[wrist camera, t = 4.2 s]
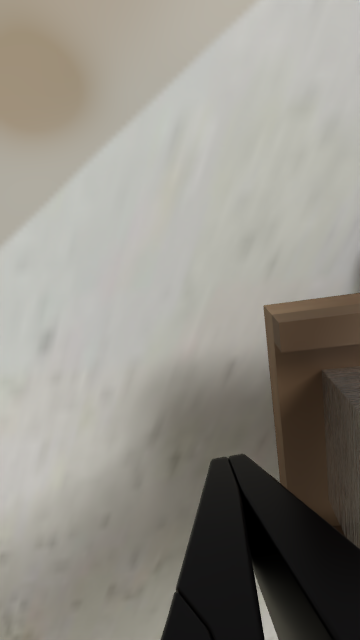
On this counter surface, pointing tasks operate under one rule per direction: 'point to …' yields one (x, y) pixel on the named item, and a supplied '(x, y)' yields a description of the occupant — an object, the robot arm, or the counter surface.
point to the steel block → (343, 446)
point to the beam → (308, 387)
